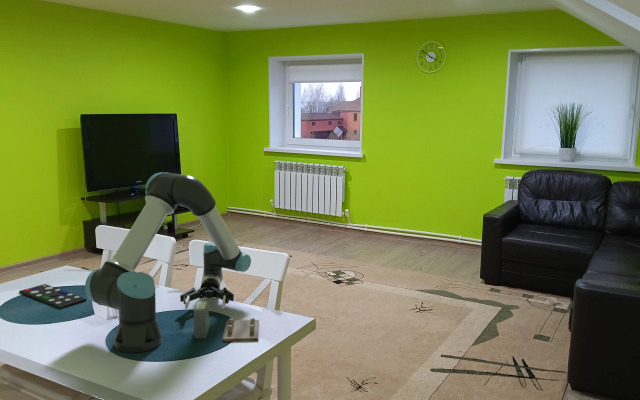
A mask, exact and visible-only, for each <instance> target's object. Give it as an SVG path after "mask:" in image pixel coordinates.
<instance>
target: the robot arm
mask: <svg viewBox="0 0 640 400" xmlns="http://www.w3.org/2000/svg"><path fill="white" fill-rule="evenodd" d="M144 192H145V197H144V200H145V205H144V207H143V208H142V210H141V212H140V213H139V214H138V216H137V217H136V220H135V221H134V222H133V225H132V226H131V228H130V230H129V231H128V233H127V234H126V236H125V238H124V239H123V241H122V242H121V244H120V245H119V247H118V249H117V250H116V253H115V254H114V255H113V257H112V259H108V260H105V262H104V263H103V265H102V266H101V268H97V269H94V270H92V271H91V272H90V273H89V275H88V276H87V278H86V279H85V284H84V289H85V294H86V296H87V298H88V299H89V300H90V301H91V302H93V303H96V304H97V305H99V306H103V307H104V306H105V307H108V308H110V309H111V308H112V309H114V310H116V311H117V310H118V326H117V328H116V329H117V330H116V332H115V337H114V338H113V339H114V348H115V349H116V350H117V351H118V352H119V351H120V352H122V353H129V354H130V353H131V354H132V353H133V354H134V353H142V352H147V351H150V350H153V349H155V348H157V347H159V346H160V345H161V344H162V341H163V335H162V332H161V328H160V326H159V323H158V322H157V318H156V317H157V316H156V315H157V314H156V313H157V312H156V311H157V310H156V309H157V308H156V307H157V306H156V286H155V279H154V277H153V276H152V275H150V274H149V273H146V272H143V271H138V272H137V271H136V269H137V267H138V265H140V262H141V260H142V259H143V257H144V255H145V254H146V251H147V250H148V248H149V247H150V245H151V243H152V242H153V240H154V238H155V236H156V235H157V234H158V231H159V230H160V228H161V226H162V224H163V223H164V222H165V220H166V217H167V216H168V215H172V214H174V212H175V211H176V209H177V207H178V206H179V207H183V208H187V209H188V210H189V211H191V213H192V216H195V217H197V218H198V220H199V221H200V222H201V224H202V225H203V228H204V229H205V231H206V233H207V234H208V236H209V237H210V239H211V241H210V242H206V243H205V244H204V245H203V279H202V282H201V285H200V287H199V288H198V289H196V288H195V287H191V289H189V290H187V291H186V292H183V293H182V294H180V297H179V299H180V302H183V304H184V308H185V310H188V308H189V306H190V304H191V303H190V302H192V301H195V300H198V299H203V298H206V299H212V298H214V299H220V300H222V309H223V310H224V309H225V308H226V304H229V302H230V301H231V302H234V301H235V298H234V297H235V296H234V295H235V294H233V292H231V291H230V290H228V289H227V287H226V286H225V287H223V288H221V284H222V281H223V269H227V270H232V271H235V272H240V273H245V272H246V271H248V270H249V269H250V267H251V264H252V259H251V256H250V255H249V254H247V253H245V252H242V250H241V249H240V247H239V245H238V244H237V242H236V240H235V238H234V237H233V235H232V233H231V232H230V230H229V228H228V226H227V224H226V222H225V220H224V219H223V217H222V216H221V213H220V212H219V211H218V209H217V207H216V206H217V202H216V200H215V198H214V196H213V195H212V193H211V191H209V189H208V188H207V187H206V186H205V184H203V182H201V181H200V180H199V179H197V178H196V177H195V176H192V175H190V174H180V173H179V174H178V173H171V172H166V171H165V172H156V173H154V174H153V175H151V176H150V177H149V178H148V180H147V182H146V183H145V191H144ZM220 288H221V289H220Z"/></svg>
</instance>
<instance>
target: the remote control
mask: <svg viewBox="0 0 640 400" xmlns="http://www.w3.org/2000/svg"><path fill="white" fill-rule="evenodd" d="M18 293H19V294H21V295H24V296H26V297H29V298H31V299H34V300H36V301H39V302H42V303H43V304H47V305H49V306H51V307H53V308H56V309H59V310H62V309H65V308H70V307H72V306H76V305H78V304H82V303H85V302H87V298H86V297H83V296H79V295H77V294H74V293H72V292H68V291H66V290H63V289H62V288H61V289H60V288H57V287H55V286H52V285H49V284H47V283H44V284H41V285H40V284H39V285H36V286H32V287H28V288H26V289H25V288H24V289H21V290H19V291H18Z"/></svg>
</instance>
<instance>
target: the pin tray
mask: <svg viewBox="0 0 640 400" xmlns="http://www.w3.org/2000/svg"><path fill="white" fill-rule="evenodd" d="M259 326H260V320H259V319H256V318H255V317H252V318H250V319H247V320H246V319H245V320H244V319H238V320H237V319H236V320H235V319H234V318H231V317H230V318H229V319H228V320H226V321H225V326H224V330H223V336H222V342H223V341H225V342H259V334H260V333H259V331H260V327H259Z"/></svg>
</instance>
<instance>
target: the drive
mask: <svg viewBox="0 0 640 400" xmlns="http://www.w3.org/2000/svg"><path fill="white" fill-rule="evenodd" d="M209 314H210V310H209V300H197V301H196V303H195V306H194V309H193V339H194V338H195V339H207V336H208V332H209V328H210V327H209V326H210V315H209Z"/></svg>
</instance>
